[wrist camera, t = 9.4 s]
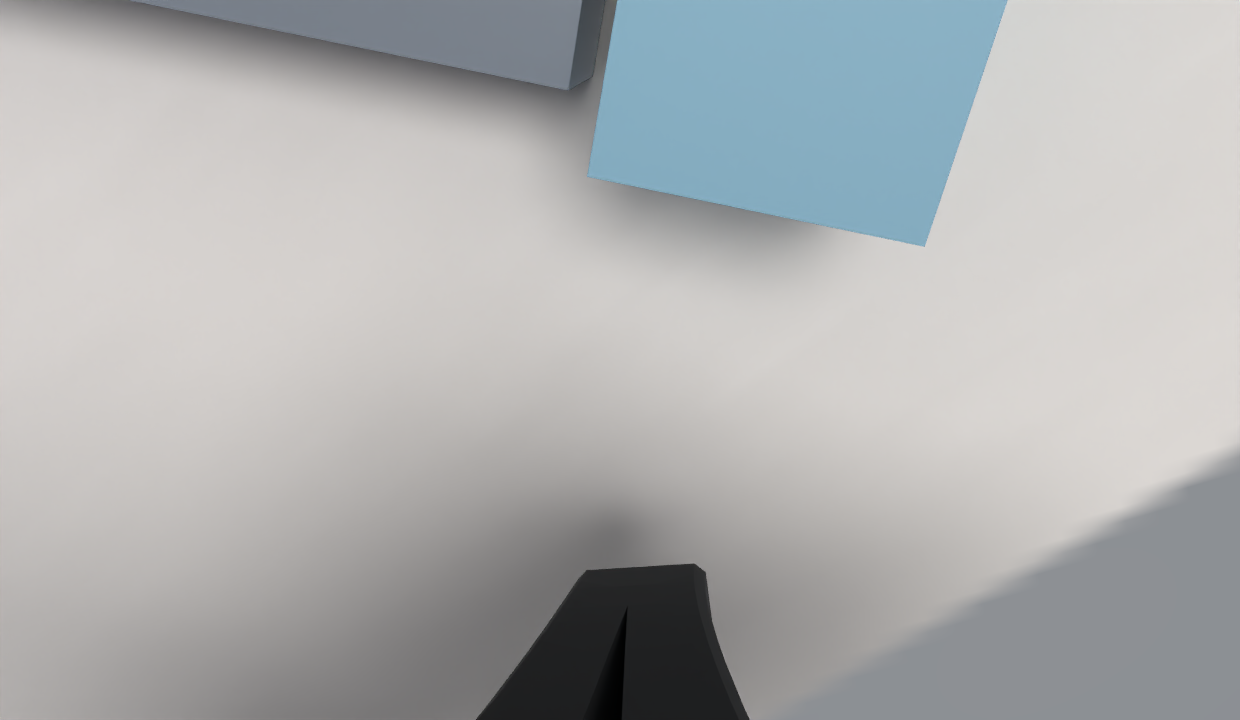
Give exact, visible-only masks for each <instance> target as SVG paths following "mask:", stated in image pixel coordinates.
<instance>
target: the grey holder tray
mask: <svg viewBox="0 0 1240 720" xmlns="http://www.w3.org/2000/svg"><path fill="white" fill-rule="evenodd" d="M130 1H135V2H140V3H145V4H150V5H155V6H159V7H164V8H169V9H174V10H179V11H184V12H189V13H193V14H198V15H203V16H208V17H213V18H218V19H223V20H227V21H232V22H237V23H242V24H247V25H252V26H257V27H262V28H266V29H271V30H276V31H281V32H286V33H291V34H296V35H300V36H305V37H310V38H315V39H320V40H325V41H330V42H335V43H339V44H344V45H349V46H354V47H359V48H364V49H369V50H373V51H378V52H383V53H388V54H393V55H398V56H403V57H407V58H412V59H417V60H422V61H427V62H432V63H437V64H442V65H446V66H451V67H456V68H461V69H466V70H471V71H476V72H480V73H485V74H490V75H495V76H500V77H505V78H510V79H515V80H519V81H524V82H529V83H534V84H539V85H544V86H549V87H553V88H558V89H563V90H570V89H572V88H573V87H575V86H577V85H579V84H580V83H582V82H584V81H585V80H587V79H589V78H591V77H592V76H593V71H594V65H595V59H596V53H597V47H598V41H599V35H600V29H601V23H602V17H603V11H604V5H605V0H130Z"/></svg>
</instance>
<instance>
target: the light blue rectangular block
mask: <svg viewBox="0 0 1240 720" xmlns="http://www.w3.org/2000/svg"><path fill="white" fill-rule="evenodd" d="M1006 3H1007V0H617V5H616V11H615V17H614V23H613V28H612V34H611V40H610V46H609V52H608V58H607V64H606V69H605V75H604V81H603V87H602V93H601V99H600V104H599V110H598V116H597V122H596V128H595V134H594V139H593V145H592V151H591V157H590V163H589V169H588V175H587V177H591V178H596V179H601V180H606V181H610V182H615V183H620V184H625V185H630V186H635V187H639V188H644V189H649V190H654V191H659V192H663V193H668V194H673V195H678V196H683V197H688V198H692V199H697V200H702V201H707V202H712V203H717V204H721V205H726V206H731V207H736V208H741V209H745V210H750V211H755V212H760V213H765V214H770V215H774V216H779V217H784V218H789V219H794V220H799V221H803V222H808V223H813V224H818V225H823V226H828V227H832V228H837V229H842V230H847V231H852V232H856V233H861V234H866V235H871V236H876V237H881V238H885V239H890V240H895V241H900V242H905V243H910V244H914V245H919V246H924V247H925V244H926V241H927V238H928V235H929V232H930V229H931V226H932V223H933V220H934V217H935V214H936V211H937V208H938V205H939V202H940V199H941V196H942V193H943V190H944V187H945V184H946V182H947V179H948V176H949V173H950V170H951V167H952V164H953V161H954V158H955V155H956V152H957V149H958V146H959V143H960V140H961V137H962V134H963V131H964V128H965V125H966V122H967V119H968V116H969V113H970V110H971V107H972V104H973V101H974V98H975V95H976V92H977V89H978V86H979V83H980V81H981V78H982V75H983V72H984V69H985V66H986V63H987V60H988V57H989V54H990V51H991V48H992V45H993V42H994V39H995V36H996V33H997V30H998V27H999V24H1000V21H1001V18H1002V15H1003V12H1004V9H1005V6H1006Z"/></svg>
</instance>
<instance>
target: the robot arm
mask: <svg viewBox="0 0 1240 720" xmlns="http://www.w3.org/2000/svg"><path fill="white" fill-rule="evenodd" d="M476 720H749V717H748V715H747V713H746V711H745V709H744V707H743V704H742V702H741V699H740V697H739V694H738V692H737V690H736V687H735V685H734V682H733V680H732V677H731V675H730V673H729V670H728V668H727V665H726V663H725V660H724V657H723V654H722V652H721V649H720V646H719V643H718V640H717V636H716V633H715V630H714V626H713V623H712V618H711V610H710V602H709V595H708V587H707V579H706V572H705V571H703V570H702V569H701V568H699V567H698V566H697V565H696V564H681V565H664V566H648V567H632V568H615V569H599V570H586V571H585V573H584V574H583V575H582V576H581V577H580V578H579V579H578V581H577V582H576V583H575V585H574V586H573V588H572V589H571V591H570V592H569V594H568V595H567V597H566V598H565V600H564V601H563V602H562V604H561V605H560V607H559V608H558V610H557V611H556V613H555V614H554V616H553V617H552V619H551V620H550V621H549V623H548V624H547V626H546V627H545V629H544V630H543V631H542V633H541V634H540V636H539V637H538V638H537V640H536V641H535V643H534V644H533V645H532V647H531V648H530V650H529V651H528V652H527V654H526V655H525V656H524V658H523V659H522V660H521V662H520V663H519V664H518V666H517V667H516V668H515V670H514V671H513V672H512V674H511V675H510V676H509V678H508V679H507V680H506V682H505V683H504V684H503V686H502V687H501V688H500V689H499V691H498V692H497V693H496V695H495V696H494V697H493V699H492V700H491V701H490V703H489V704H488V705H487V706H486V708H485V709H484V710H483V711H482V713H481V714H480V715H479V716H478V718H477V719H476Z"/></svg>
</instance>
